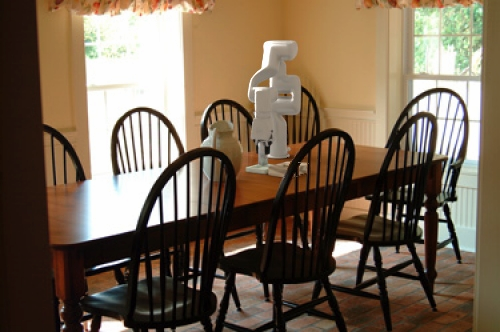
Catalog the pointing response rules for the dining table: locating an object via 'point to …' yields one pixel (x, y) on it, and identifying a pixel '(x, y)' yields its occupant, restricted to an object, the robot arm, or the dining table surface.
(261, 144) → the white upright block
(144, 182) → the dining table surface
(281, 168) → the crumpled beige cloth
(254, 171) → the rack tray
